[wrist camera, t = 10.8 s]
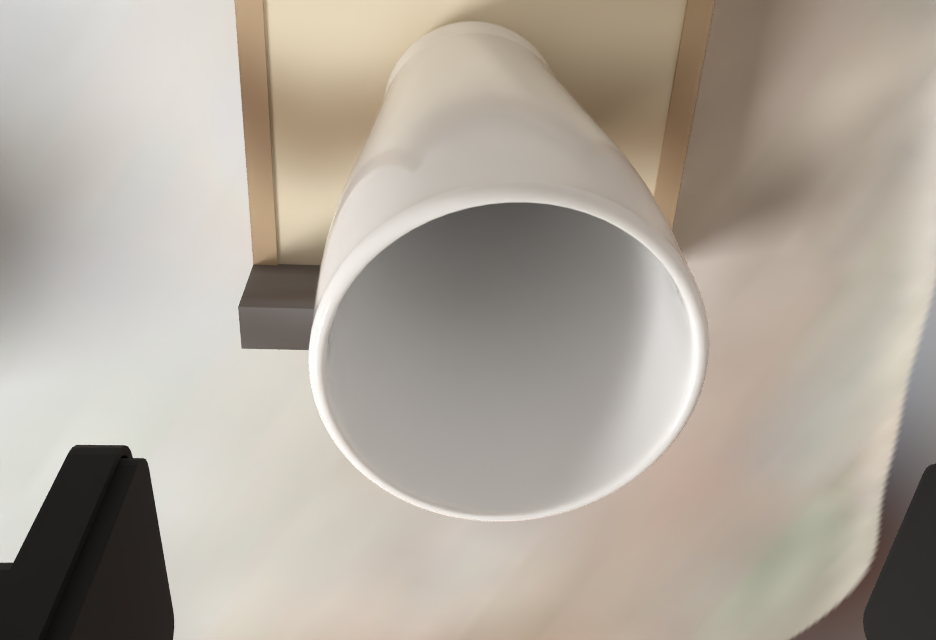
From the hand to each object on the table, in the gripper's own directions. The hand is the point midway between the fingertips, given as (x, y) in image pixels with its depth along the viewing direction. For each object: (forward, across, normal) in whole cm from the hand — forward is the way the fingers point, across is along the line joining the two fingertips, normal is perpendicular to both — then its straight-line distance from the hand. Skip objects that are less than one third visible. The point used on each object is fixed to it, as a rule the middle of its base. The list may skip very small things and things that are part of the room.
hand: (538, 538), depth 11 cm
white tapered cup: (+19, 0, +1) cm, 19 cm away
